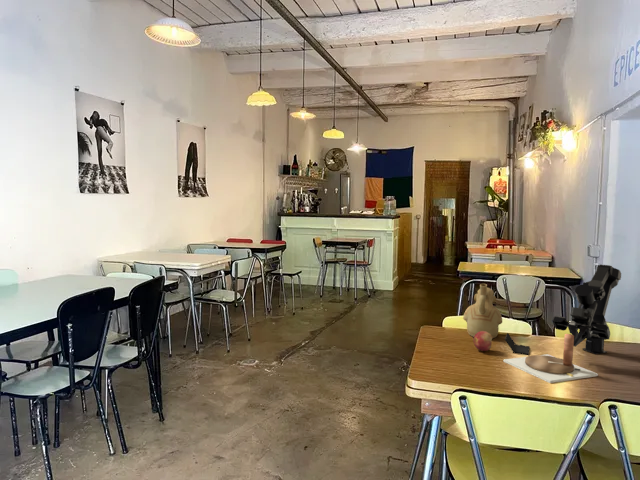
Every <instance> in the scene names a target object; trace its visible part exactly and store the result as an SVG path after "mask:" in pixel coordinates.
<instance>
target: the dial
mask: <svg viewBox="0 0 640 480" xmlns="http://www.w3.org/2000/svg"><path fill="white" fill-rule="evenodd" d="M563 341H564V342H563V357H562V358H559V357H556V356H554V357H551V356H552V355H551V356H544V355H545V354H540V355H539V354H535V355H533V354H532V355H527V356H525V357H526V358H525V363H526V365H528V366H529V367H531V368H534V369H536V370H540V371H544V372H549V373H557V374H565V373H571V372H573V371H574V365H575V364H574V363H573V361H574V360H573V359H574V358H573V357H574V347H575V346H574V335H572V334H571V333H564V339H563ZM573 364H574V365H573Z"/></svg>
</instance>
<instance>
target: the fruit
mask: <svg viewBox="0 0 640 480" xmlns="http://www.w3.org/2000/svg"><path fill="white" fill-rule="evenodd" d="M472 337H473V336H472ZM492 340H493V338H492V335H491V334H489V333H488V332H485V331H481V332H478V333H477V334H476V335H475V336H474V337H473V340H472V341H473V344H474V346H475V348H476V349H477V350H478V351H481V352H487V351H490V350H491V349H492V344H493V343H492Z"/></svg>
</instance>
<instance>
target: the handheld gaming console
mask: <svg viewBox="0 0 640 480" xmlns="http://www.w3.org/2000/svg"><path fill="white" fill-rule="evenodd" d="M504 341H505V343H506V344H507V345H508V347H509V348H510V349H511V351H512V354H514V355H515V354H517V355H524V356H530V355H529V354H530V348H531V346H529V345H523V344H517V343H516V342H515V341H514V339H513V338H512V337H511V335H510V334H509V333H508V332H507V333H506V335H505V337H504Z"/></svg>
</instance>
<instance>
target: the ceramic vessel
mask: <svg viewBox="0 0 640 480" xmlns="http://www.w3.org/2000/svg"><path fill="white" fill-rule="evenodd" d="M494 294H495V292H494V290H493V289H492V288H490V287H488V284H486V283H480V284H479V289H478V290H477V293H475V294H474V295H473V296H474V298H473V300H474V301H475V303H473V304H471V305H469V306H468V307H467V308H466V309H465V312H464V313H463V318H462V319H463V320H464V321H465V322H466V331H467V333H468V335H469V336H471V337H474V336H475V335H476V334H477V333H478V332H481V331H485V332H488V333H489V334H491V335H492V339H495V338H496V337H497V336H498V334H499V330H500V329H499V326H500V325H502V324H503V316H502V313H501V311H500V310H499V309H498V308H497V307H495V306H494V305H493V304H495V302H496V299H497V298H496V296H495V295H494Z"/></svg>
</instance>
